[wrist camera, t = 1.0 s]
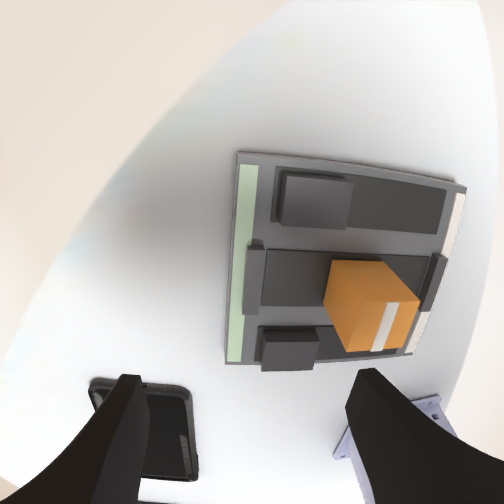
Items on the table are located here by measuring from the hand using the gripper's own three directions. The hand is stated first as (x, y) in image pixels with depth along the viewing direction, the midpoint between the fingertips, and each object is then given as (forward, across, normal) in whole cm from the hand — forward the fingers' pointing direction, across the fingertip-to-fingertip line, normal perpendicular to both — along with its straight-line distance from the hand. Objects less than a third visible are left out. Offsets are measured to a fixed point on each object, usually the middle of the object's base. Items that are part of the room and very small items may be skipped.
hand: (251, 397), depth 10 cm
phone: (+9, +7, +16) cm, 20 cm away
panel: (+8, -6, 0) cm, 10 cm away
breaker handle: (+7, -6, 0) cm, 9 cm away
